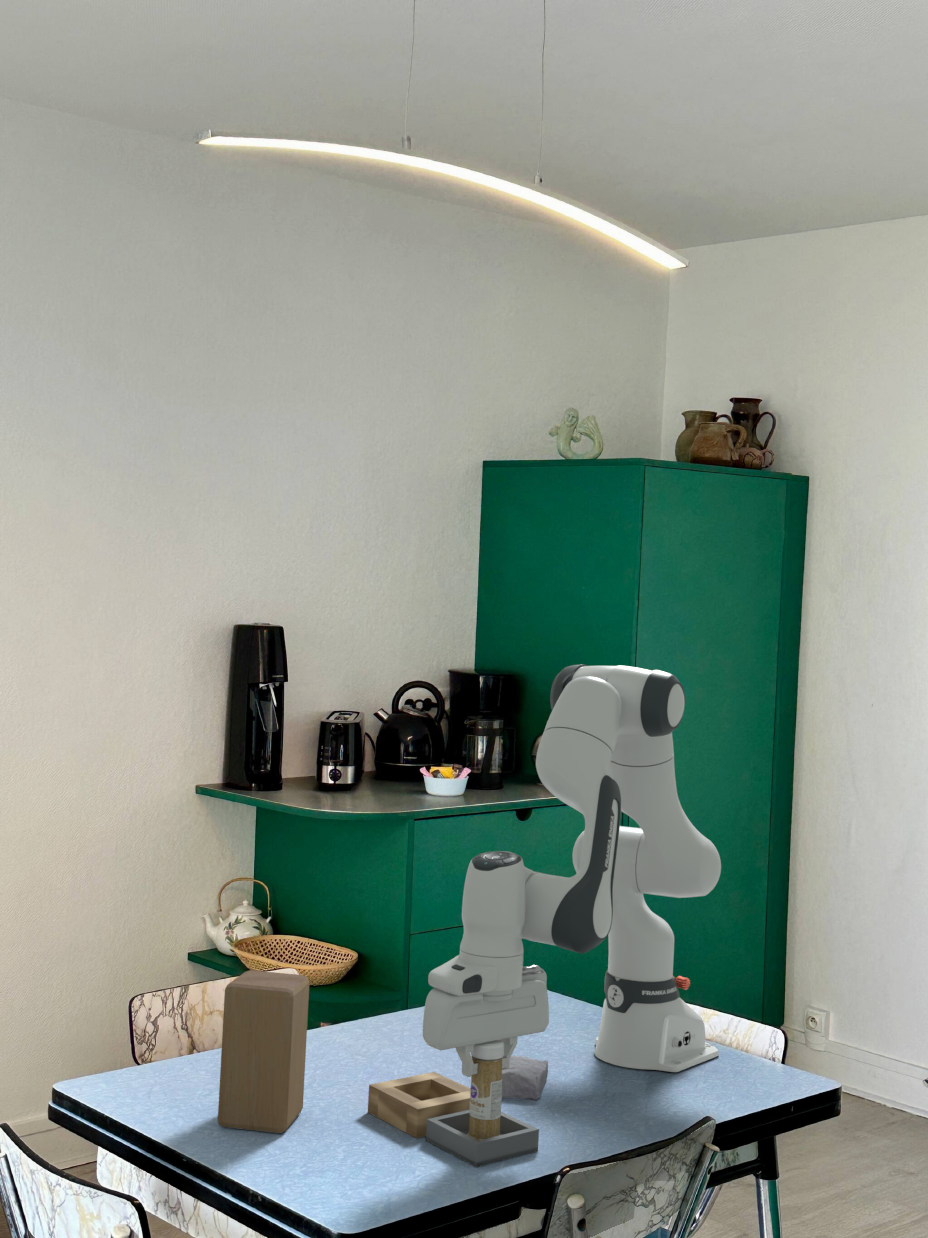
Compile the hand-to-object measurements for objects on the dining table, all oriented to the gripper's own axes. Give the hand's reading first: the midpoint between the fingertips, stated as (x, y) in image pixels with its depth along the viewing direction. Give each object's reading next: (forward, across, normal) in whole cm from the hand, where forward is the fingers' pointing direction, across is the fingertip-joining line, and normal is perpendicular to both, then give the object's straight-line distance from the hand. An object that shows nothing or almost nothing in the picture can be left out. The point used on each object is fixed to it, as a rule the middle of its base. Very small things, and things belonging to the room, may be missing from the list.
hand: (485, 1072), depth 186 cm
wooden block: (+10, +21, -24) cm, 34 cm away
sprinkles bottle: (+9, 0, 0) cm, 9 cm away
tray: (+10, 0, 0) cm, 10 cm away
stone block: (+11, -21, -17) cm, 29 cm away
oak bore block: (+10, 0, -13) cm, 17 cm away
